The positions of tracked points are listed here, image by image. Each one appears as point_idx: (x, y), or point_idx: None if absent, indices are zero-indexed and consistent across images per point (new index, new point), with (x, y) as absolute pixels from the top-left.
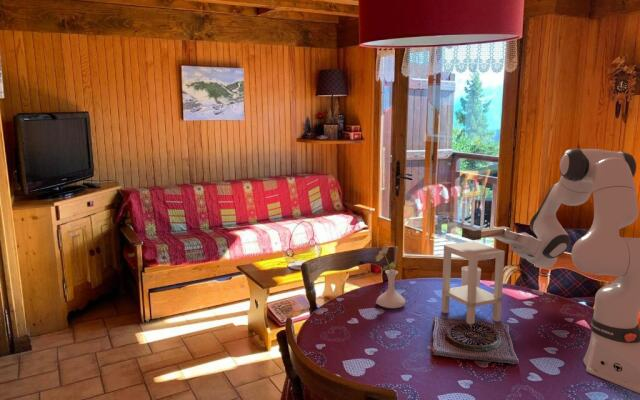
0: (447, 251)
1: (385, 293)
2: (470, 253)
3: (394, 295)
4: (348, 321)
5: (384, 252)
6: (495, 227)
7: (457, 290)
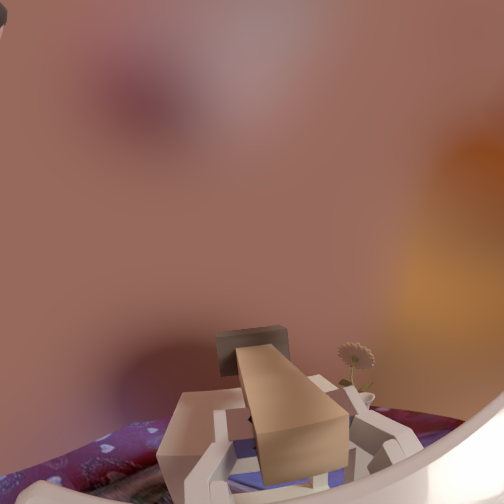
0: None
1: None
2: (205, 394)
3: None
4: None
5: (354, 356)
6: (345, 388)
7: None
